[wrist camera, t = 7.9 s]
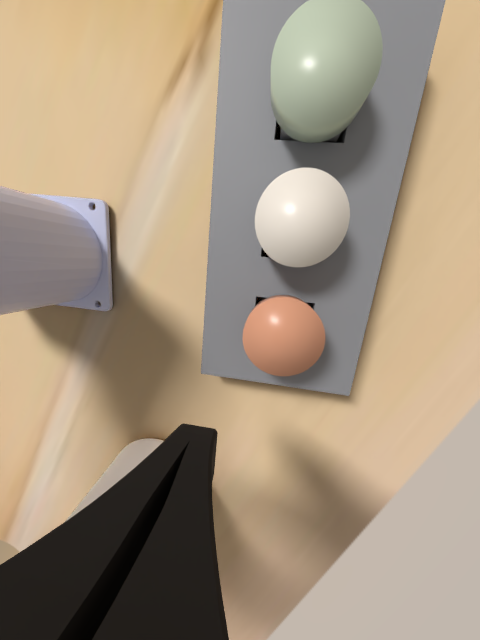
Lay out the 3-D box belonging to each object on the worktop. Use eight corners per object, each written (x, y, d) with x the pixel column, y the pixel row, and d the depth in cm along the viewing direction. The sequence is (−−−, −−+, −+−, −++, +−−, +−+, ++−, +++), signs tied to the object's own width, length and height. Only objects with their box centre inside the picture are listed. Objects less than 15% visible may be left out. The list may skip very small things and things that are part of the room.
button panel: (338, 377, 18) (349, 395, 15) (209, 359, 19) (200, 373, 16) (413, 45, 13) (446, -6, 10) (231, 43, 14) (223, -4, 11)
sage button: (266, 163, 14) (264, 123, 10) (275, 76, 13) (278, -8, 9) (339, 167, 14) (368, 128, 10) (355, 78, 13) (395, -9, 9)
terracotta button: (246, 344, 17) (238, 370, 13) (252, 286, 16) (246, 294, 12) (305, 352, 17) (317, 381, 13) (316, 293, 16) (332, 303, 12)
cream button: (255, 262, 16) (250, 262, 12) (263, 191, 15) (260, 164, 11) (320, 269, 16) (339, 271, 11) (333, 196, 14) (359, 170, 10)
